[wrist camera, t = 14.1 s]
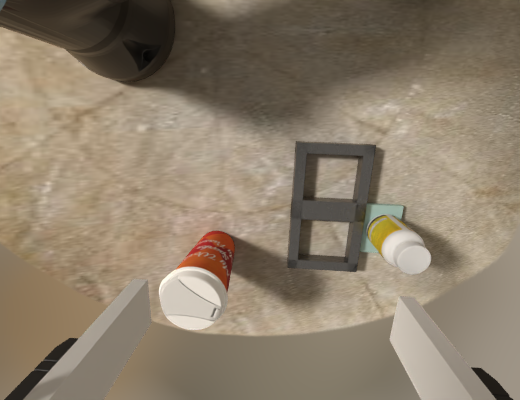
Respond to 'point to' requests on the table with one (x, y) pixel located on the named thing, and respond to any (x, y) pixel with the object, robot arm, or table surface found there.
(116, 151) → the table surface
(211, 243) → the coffee cup
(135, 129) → the table surface
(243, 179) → the table surface
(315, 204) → the grey rectangular frame
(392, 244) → the supplement bottle
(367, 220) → the mat
